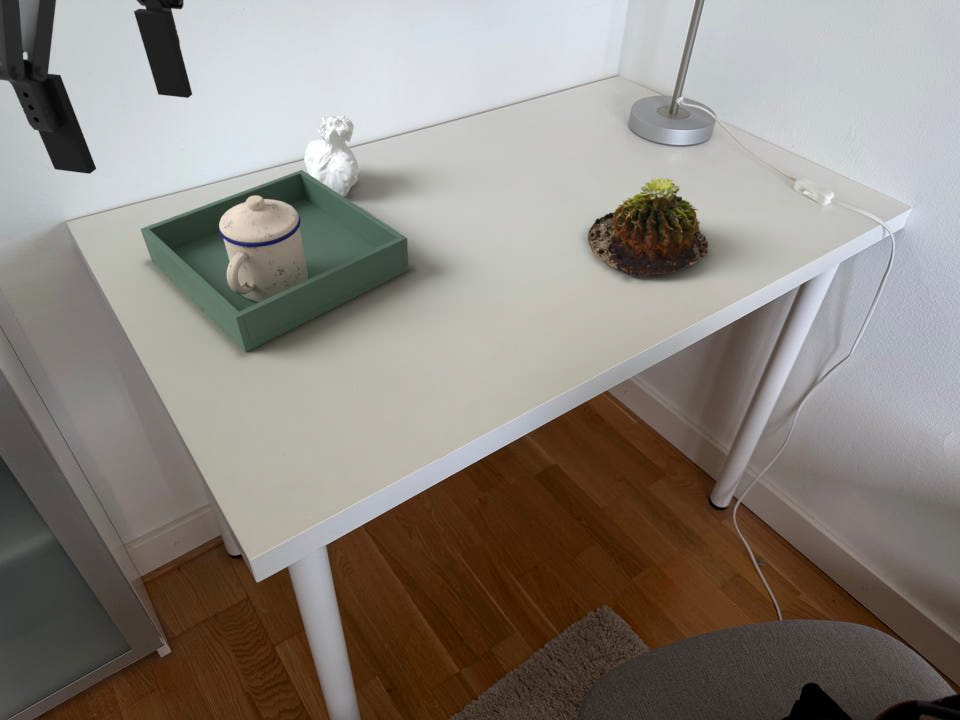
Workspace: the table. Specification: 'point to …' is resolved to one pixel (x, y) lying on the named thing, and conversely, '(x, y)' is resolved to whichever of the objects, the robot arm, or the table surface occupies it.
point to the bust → (333, 155)
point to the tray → (327, 248)
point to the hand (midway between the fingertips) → (130, 129)
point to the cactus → (650, 232)
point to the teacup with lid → (263, 248)
